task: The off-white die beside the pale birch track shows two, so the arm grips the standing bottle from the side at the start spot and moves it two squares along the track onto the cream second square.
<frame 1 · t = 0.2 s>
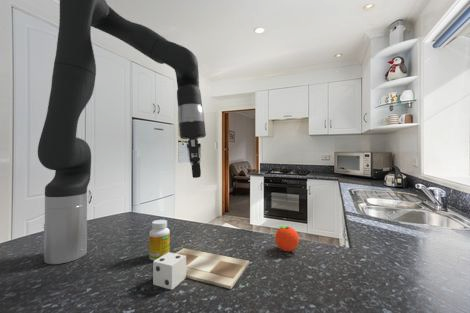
hand: (197, 176, 64), 22 cm above the countertop, tool pointing down, fingers open, 8 cm apart
die: (170, 280, 49), on the countertop
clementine: (285, 250, 65), on the countertop
supplement bottle: (159, 257, 60), on the countertop
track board: (203, 266, 55), on the countertop
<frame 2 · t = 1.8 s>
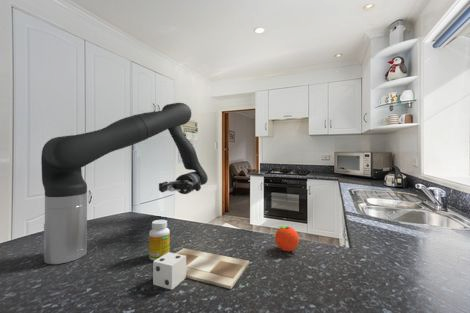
hand: (174, 189, 71), 17 cm above the countertop, tool horizontal, fingers open, 8 cm apart
nothing on the countertop moved.
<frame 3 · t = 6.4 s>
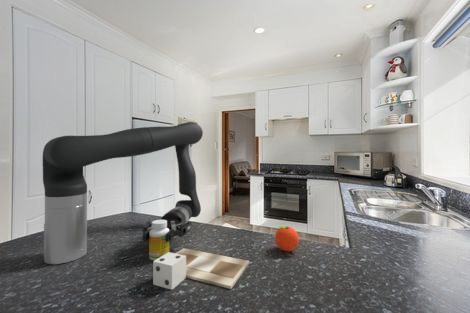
hand: (155, 238, 58), 6 cm above the countertop, tool horizontal, fingers closed on supplement bottle, 5 cm apart
supplement bottle: (159, 257, 60), on the countertop, touching gripper
everything else where it was.
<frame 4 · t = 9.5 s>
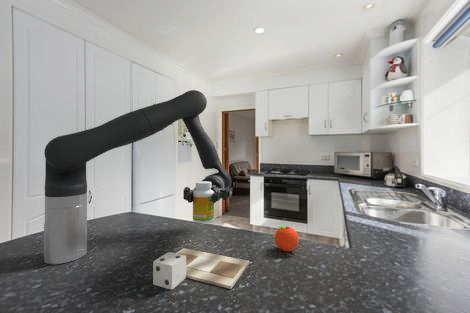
hand: (201, 198, 53), 18 cm above the countertop, tool horizontal, fingers closed on supplement bottle, 5 cm apart
supplement bottle: (203, 221, 55), point 11 cm above the countertop, touching gripper
everything else where it was.
when the fingers open (8 cm above the countertop, at t = 12.6 s): supplement bottle drops 1 cm, resting on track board.
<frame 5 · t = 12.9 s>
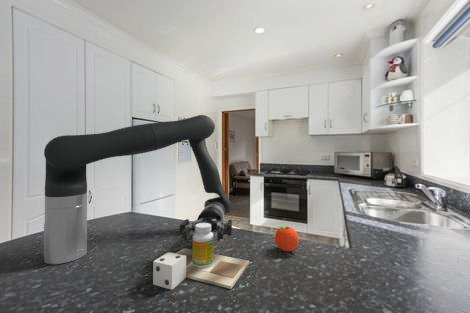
hand: (201, 236, 53), 8 cm above the countertop, tool horizontal, fingers open, 8 cm apart
supplement bottle: (203, 264, 55), point 1 cm above the countertop, touching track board
everything else where it was.
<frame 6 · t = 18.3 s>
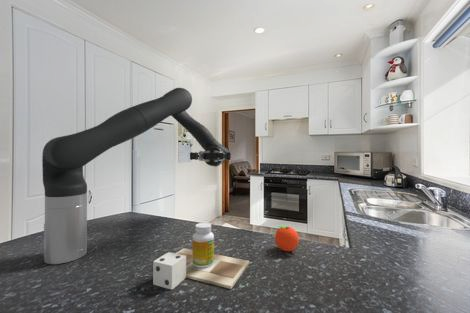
hand: (207, 156, 71), 28 cm above the countertop, tool horizontal, fingers open, 8 cm apart
nothing on the countertop moved.
at the end: supplement bottle 0.1 cm from the target spot, point 0.5 cm above the countertop; supplement bottle tilted 0°; the gripper is holding nothing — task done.
